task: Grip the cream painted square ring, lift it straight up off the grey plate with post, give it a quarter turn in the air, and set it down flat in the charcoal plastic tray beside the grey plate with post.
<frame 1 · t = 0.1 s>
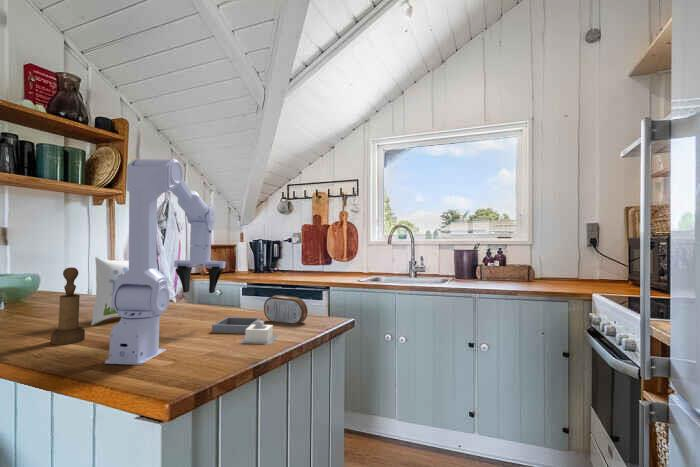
hand: (199, 292, 107), 10 cm above the counter, tool pointing down, fingers open, 7 cm apart
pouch: (122, 320, 114), on the counter
ring: (259, 339, 92), point 1 cm above the counter, touching grey plate with post
mortar and pestle: (67, 341, 89), on the counter
tin: (284, 324, 114), on the counter
grey plate with post: (259, 341, 92), on the counter
tray: (237, 330, 103), on the counter
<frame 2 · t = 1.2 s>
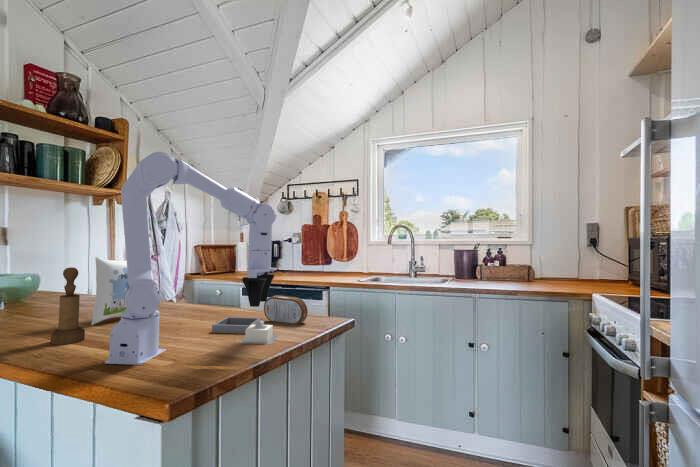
hand: (258, 303, 93), 9 cm above the counter, tool pointing down, fingers open, 7 cm apart
nothing on the counter moved.
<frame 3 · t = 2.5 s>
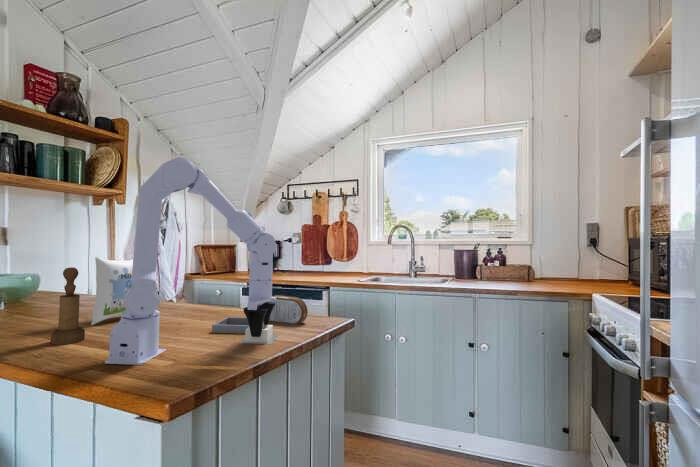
hand: (259, 333, 92), 2 cm above the counter, tool pointing down, fingers closed on ring, 5 cm apart
ring: (259, 339, 92), point 1 cm above the counter, touching gripper, grey plate with post
everything else where it was.
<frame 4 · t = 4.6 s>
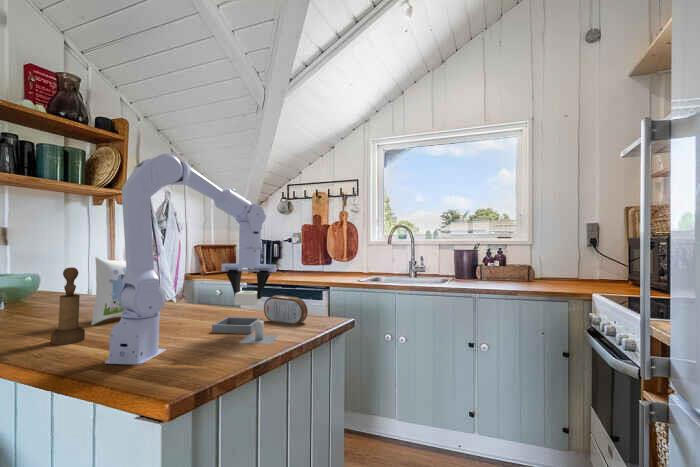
hand: (248, 298, 99), 10 cm above the counter, tool pointing down, fingers closed on ring, 5 cm apart
ring: (248, 303, 99), point 8 cm above the counter, touching gripper
everything else where it was.
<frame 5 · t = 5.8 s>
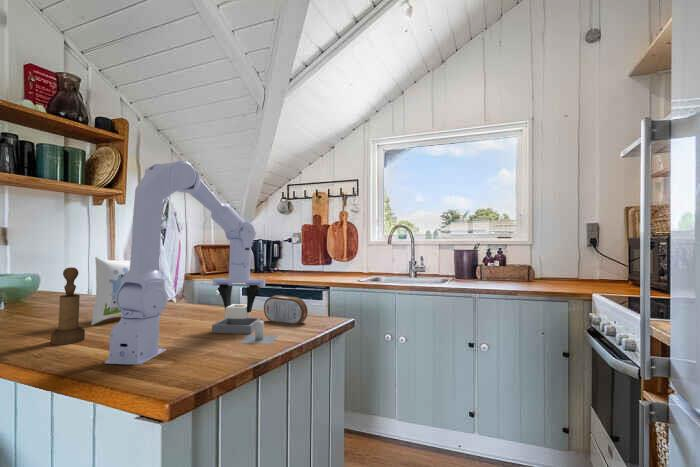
hand: (238, 311, 103), 5 cm above the counter, tool pointing down, fingers closed on ring, 5 cm apart
ring: (238, 316, 103), point 4 cm above the counter, touching gripper
everything else where it was.
when the fingers open (3 cm above the counter, at t = 6.8 s): ring stays where it is, resting on tray.
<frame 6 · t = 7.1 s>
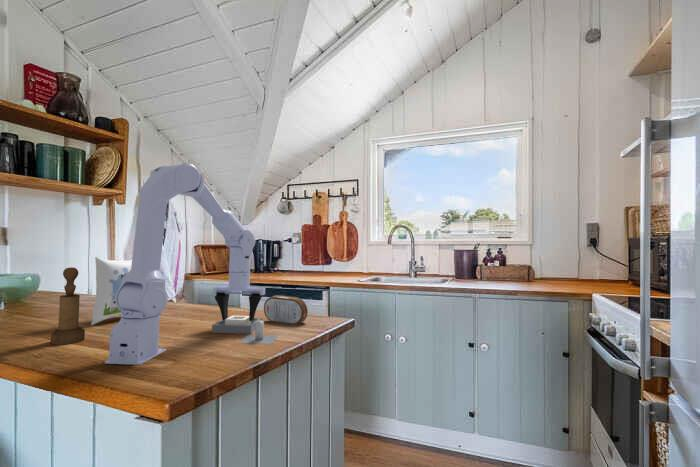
hand: (238, 319, 103), 3 cm above the counter, tool pointing down, fingers open, 7 cm apart
ring: (238, 328, 103), point 1 cm above the counter, touching tray
everything else where it was.
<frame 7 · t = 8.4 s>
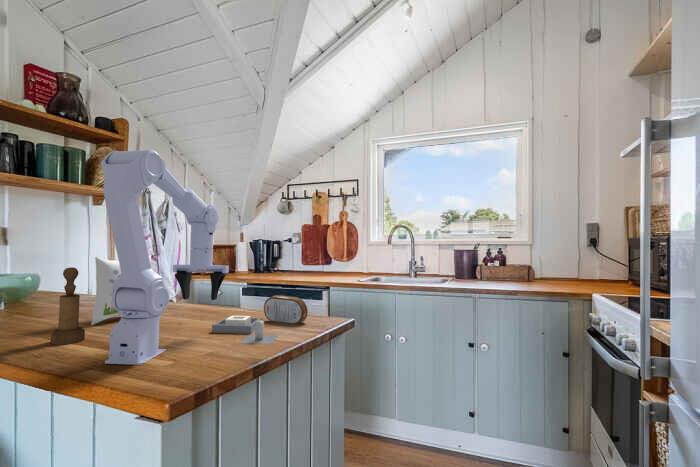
hand: (200, 299, 99), 9 cm above the counter, tool pointing down, fingers open, 7 cm apart
nothing on the counter moved.
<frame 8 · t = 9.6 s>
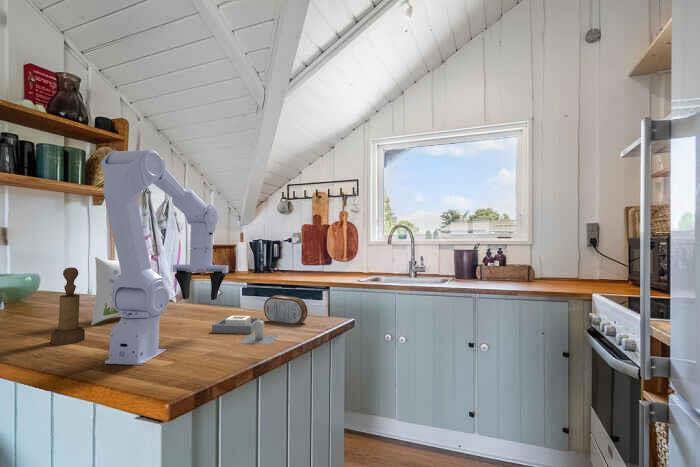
hand: (199, 299, 99), 9 cm above the counter, tool pointing down, fingers open, 7 cm apart
nothing on the counter moved.
at the end: ring 0.1 cm off-centre on the tray, point 0.6 cm above the tray's base; ring tilted 0°; the gripper is holding nothing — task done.
